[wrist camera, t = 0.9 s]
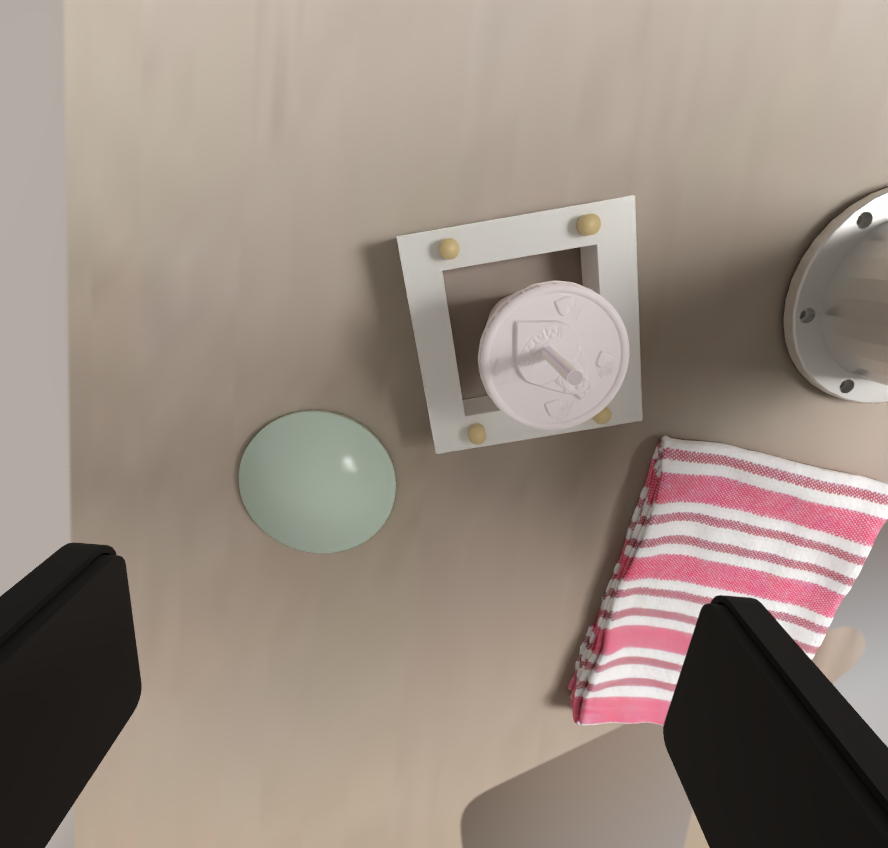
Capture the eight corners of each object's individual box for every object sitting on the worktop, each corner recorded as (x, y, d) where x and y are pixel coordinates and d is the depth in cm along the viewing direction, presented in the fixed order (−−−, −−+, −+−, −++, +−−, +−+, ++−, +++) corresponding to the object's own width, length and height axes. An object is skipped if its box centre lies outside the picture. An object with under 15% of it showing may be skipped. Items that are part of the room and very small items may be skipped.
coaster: (379, 397, 32) (378, 400, 31) (408, 535, 35) (408, 540, 35) (221, 423, 32) (218, 427, 32) (265, 558, 36) (263, 563, 35)
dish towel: (557, 695, 41) (568, 735, 38) (654, 426, 34) (678, 446, 30) (753, 722, 43) (780, 762, 40) (888, 471, 35) (935, 494, 32)
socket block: (612, 200, 29) (641, 193, 25) (622, 404, 33) (648, 425, 29) (399, 236, 29) (395, 236, 25) (435, 434, 33) (436, 459, 29)
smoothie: (519, 244, 29) (596, 248, 16) (593, 323, 31) (717, 385, 18) (441, 327, 31) (452, 393, 17) (515, 398, 32) (577, 507, 19)
